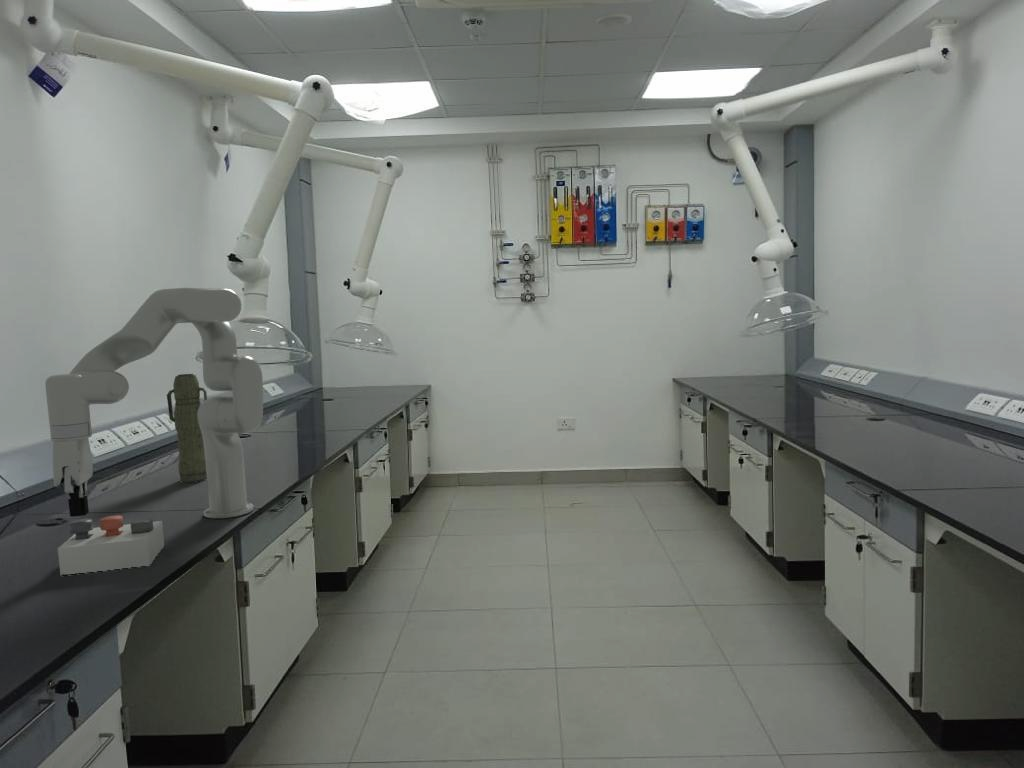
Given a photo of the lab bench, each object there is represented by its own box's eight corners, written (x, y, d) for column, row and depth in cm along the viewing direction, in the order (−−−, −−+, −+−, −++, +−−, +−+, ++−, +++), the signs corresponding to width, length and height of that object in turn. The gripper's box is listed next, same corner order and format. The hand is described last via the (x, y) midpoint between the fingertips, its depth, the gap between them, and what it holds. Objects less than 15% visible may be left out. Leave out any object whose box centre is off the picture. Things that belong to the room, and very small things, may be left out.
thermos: (175, 479, 237) (166, 374, 233) (214, 474, 241) (205, 372, 237) (173, 484, 228) (163, 376, 225) (213, 480, 232) (204, 374, 229)
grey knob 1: (75, 544, 156) (73, 519, 156) (97, 541, 157) (95, 517, 157) (68, 550, 152) (65, 525, 152) (91, 547, 153) (88, 523, 153)
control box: (83, 554, 161) (80, 529, 161) (164, 545, 166) (161, 520, 165) (60, 576, 148) (57, 548, 147) (149, 566, 152) (146, 538, 151)
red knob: (105, 540, 158) (103, 516, 157) (127, 538, 159) (124, 514, 158) (99, 546, 154) (96, 522, 153) (121, 544, 155) (119, 520, 154)
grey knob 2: (135, 543, 159) (133, 520, 159) (157, 541, 161) (154, 517, 160) (130, 550, 155) (128, 525, 155) (152, 547, 156) (150, 523, 156)
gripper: (64, 427, 159) (72, 508, 160) (37, 438, 144) (46, 526, 146) (101, 425, 160) (109, 504, 162) (78, 435, 146) (87, 522, 148)
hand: (79, 514), depth 154 cm, fingers closed
